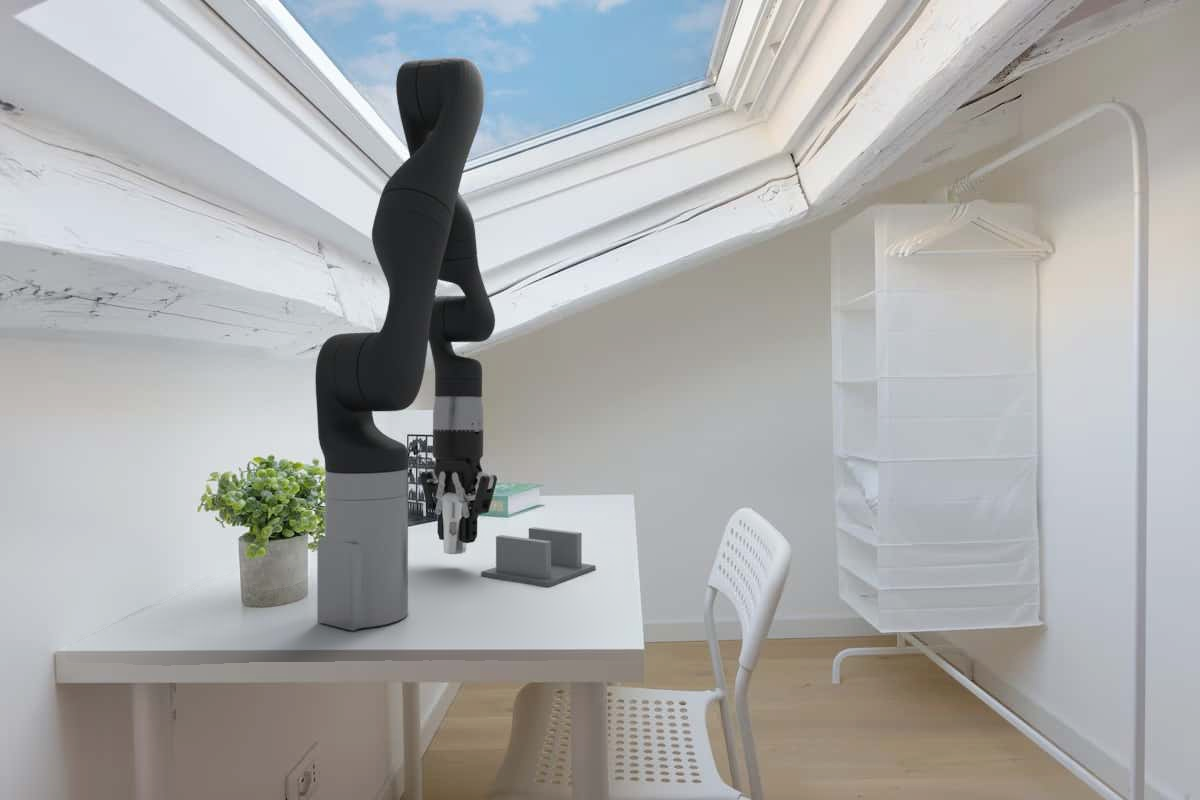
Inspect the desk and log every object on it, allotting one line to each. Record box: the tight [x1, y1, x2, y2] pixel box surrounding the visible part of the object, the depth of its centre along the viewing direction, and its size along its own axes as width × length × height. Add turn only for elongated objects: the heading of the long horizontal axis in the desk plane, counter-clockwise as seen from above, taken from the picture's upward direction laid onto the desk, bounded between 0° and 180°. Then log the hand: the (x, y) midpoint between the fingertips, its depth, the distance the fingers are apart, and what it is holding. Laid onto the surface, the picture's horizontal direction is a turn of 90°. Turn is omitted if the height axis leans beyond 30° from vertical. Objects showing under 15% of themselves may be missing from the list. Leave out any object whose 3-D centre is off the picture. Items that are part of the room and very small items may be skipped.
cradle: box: [480, 526, 597, 588], centre depth 105 cm, size 12×12×6 cm
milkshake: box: [442, 486, 478, 555], centre depth 107 cm, size 4×5×10 cm
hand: (457, 540), depth 107 cm, fingers closed on milkshake, 4 cm apart
